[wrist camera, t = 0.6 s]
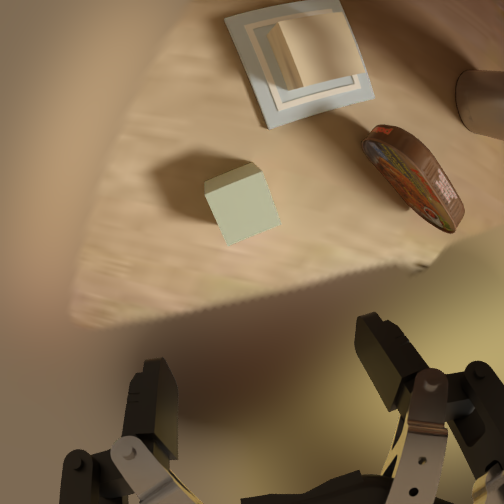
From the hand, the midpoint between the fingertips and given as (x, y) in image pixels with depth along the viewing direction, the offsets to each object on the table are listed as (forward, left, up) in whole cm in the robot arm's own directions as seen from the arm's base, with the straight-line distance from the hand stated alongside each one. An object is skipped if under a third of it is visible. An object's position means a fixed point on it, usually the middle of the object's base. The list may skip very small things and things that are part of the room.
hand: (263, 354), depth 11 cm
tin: (-20, +3, -20) cm, 28 cm away
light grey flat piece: (-13, -12, -20) cm, 26 cm away
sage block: (-2, -1, -20) cm, 20 cm away
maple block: (-13, -12, -19) cm, 26 cm away
